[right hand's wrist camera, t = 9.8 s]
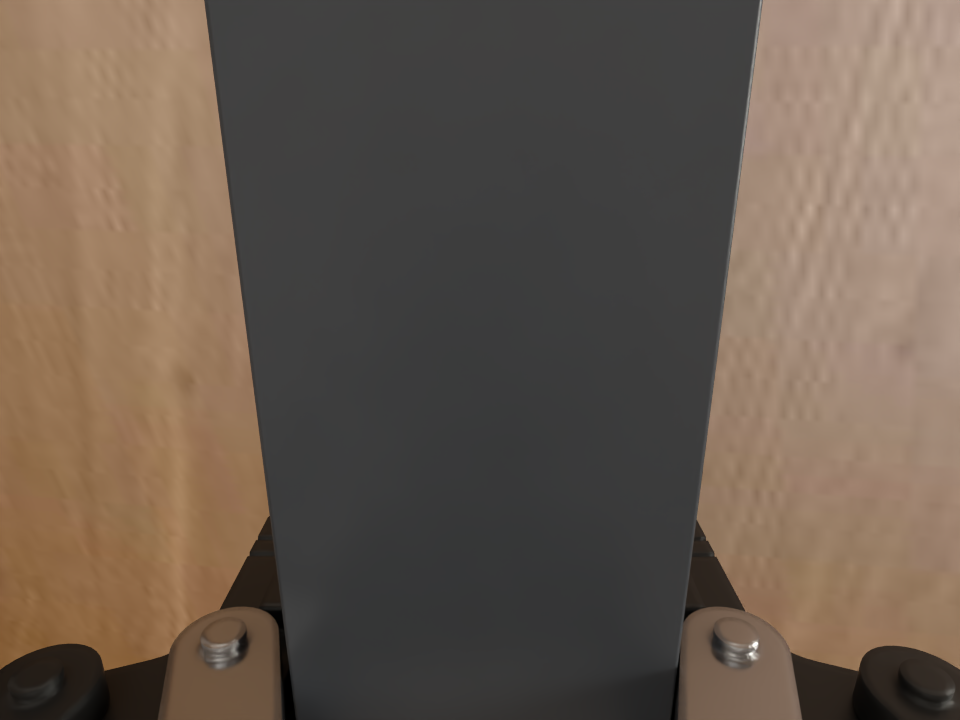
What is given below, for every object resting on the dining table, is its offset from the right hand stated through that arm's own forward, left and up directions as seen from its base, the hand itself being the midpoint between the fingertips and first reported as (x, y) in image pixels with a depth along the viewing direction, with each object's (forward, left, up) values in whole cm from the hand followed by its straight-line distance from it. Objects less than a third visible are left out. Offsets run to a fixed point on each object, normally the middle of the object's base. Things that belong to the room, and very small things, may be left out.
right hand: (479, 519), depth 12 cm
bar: (+30, -13, -3) cm, 33 cm away
